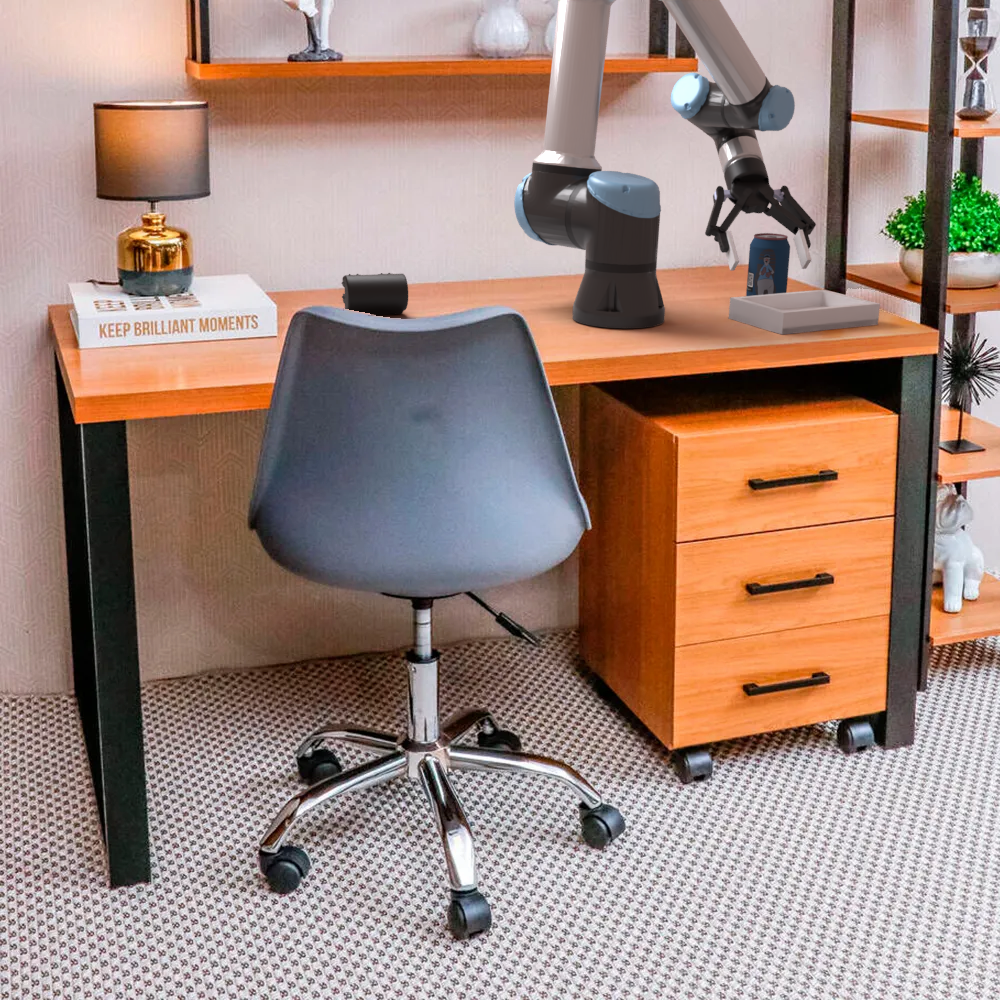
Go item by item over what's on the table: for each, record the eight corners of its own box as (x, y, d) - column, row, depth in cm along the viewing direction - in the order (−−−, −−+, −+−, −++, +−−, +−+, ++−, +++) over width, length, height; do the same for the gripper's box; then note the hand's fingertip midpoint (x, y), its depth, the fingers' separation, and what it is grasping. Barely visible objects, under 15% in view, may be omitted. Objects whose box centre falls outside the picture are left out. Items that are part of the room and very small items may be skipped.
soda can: (773, 299, 256) (779, 232, 252) (792, 306, 250) (798, 237, 246) (738, 301, 254) (743, 233, 250) (756, 308, 248) (762, 238, 244)
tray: (781, 334, 227) (783, 312, 226) (728, 318, 239) (730, 297, 238) (877, 324, 236) (880, 303, 235) (821, 309, 248) (823, 289, 247)
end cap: (348, 320, 232) (348, 278, 230) (340, 312, 238) (339, 271, 236) (408, 317, 235) (408, 276, 233) (398, 309, 241) (398, 269, 239)
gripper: (799, 181, 266) (828, 275, 257) (672, 182, 260) (697, 279, 251) (814, 154, 259) (844, 251, 250) (685, 155, 253) (710, 253, 245)
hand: (771, 265), depth 251 cm, fingers open, 13 cm apart
